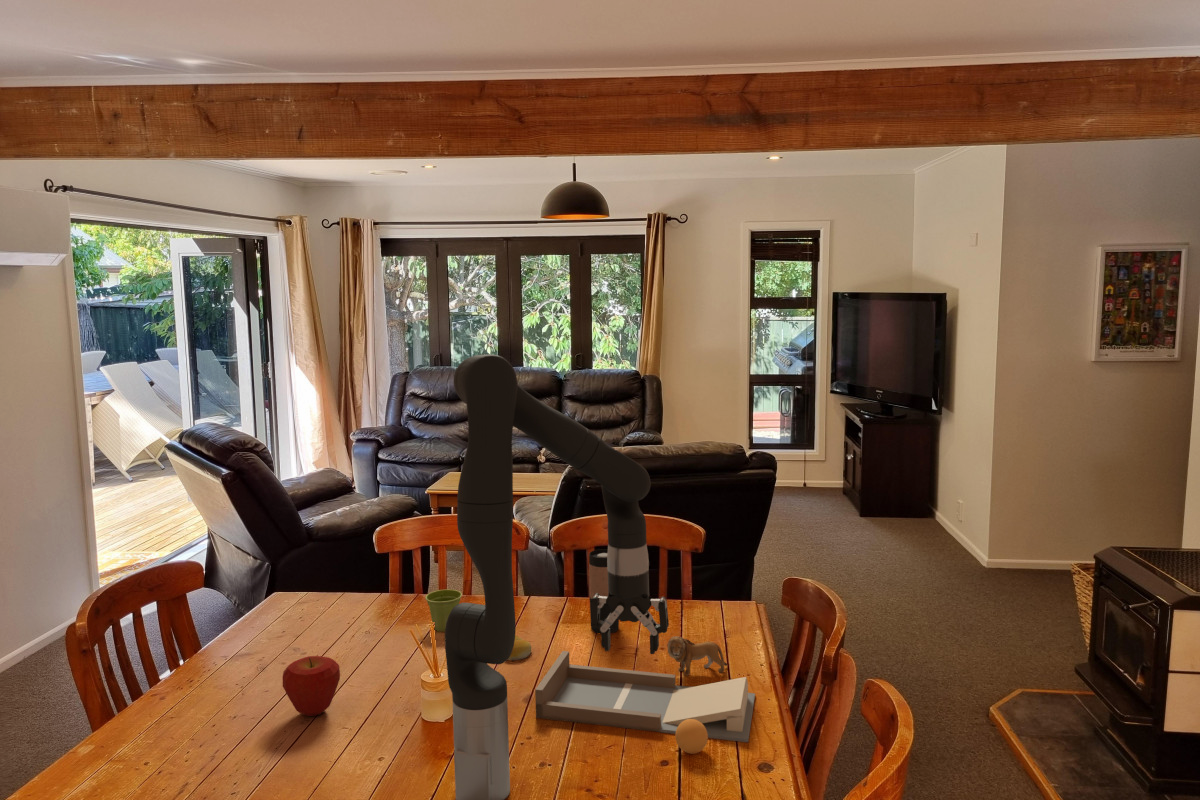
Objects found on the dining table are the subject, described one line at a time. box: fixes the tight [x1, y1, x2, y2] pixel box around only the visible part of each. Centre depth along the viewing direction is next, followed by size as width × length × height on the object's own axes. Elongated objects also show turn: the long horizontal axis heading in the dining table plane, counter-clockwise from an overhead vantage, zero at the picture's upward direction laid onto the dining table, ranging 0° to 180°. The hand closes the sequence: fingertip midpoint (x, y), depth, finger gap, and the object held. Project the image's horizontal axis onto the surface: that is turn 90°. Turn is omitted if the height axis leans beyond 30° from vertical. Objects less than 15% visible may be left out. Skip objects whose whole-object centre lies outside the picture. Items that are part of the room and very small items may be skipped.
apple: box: [282, 655, 341, 717], centre depth 169 cm, size 11×11×12 cm
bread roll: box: [507, 634, 532, 661], centre depth 198 cm, size 8×9×4 cm
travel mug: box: [588, 548, 620, 635], centre depth 211 cm, size 8×8×20 cm
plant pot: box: [425, 589, 463, 632], centre depth 214 cm, size 9×9×9 cm
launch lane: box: [534, 650, 756, 743], centre depth 170 cm, size 42×19×7 cm, turn 76°
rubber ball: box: [674, 719, 709, 755], centre depth 153 cm, size 6×6×6 cm
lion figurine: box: [666, 635, 728, 677], centre depth 186 cm, size 15×5×9 cm, turn 108°
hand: (630, 650), depth 153 cm, fingers open, 8 cm apart
